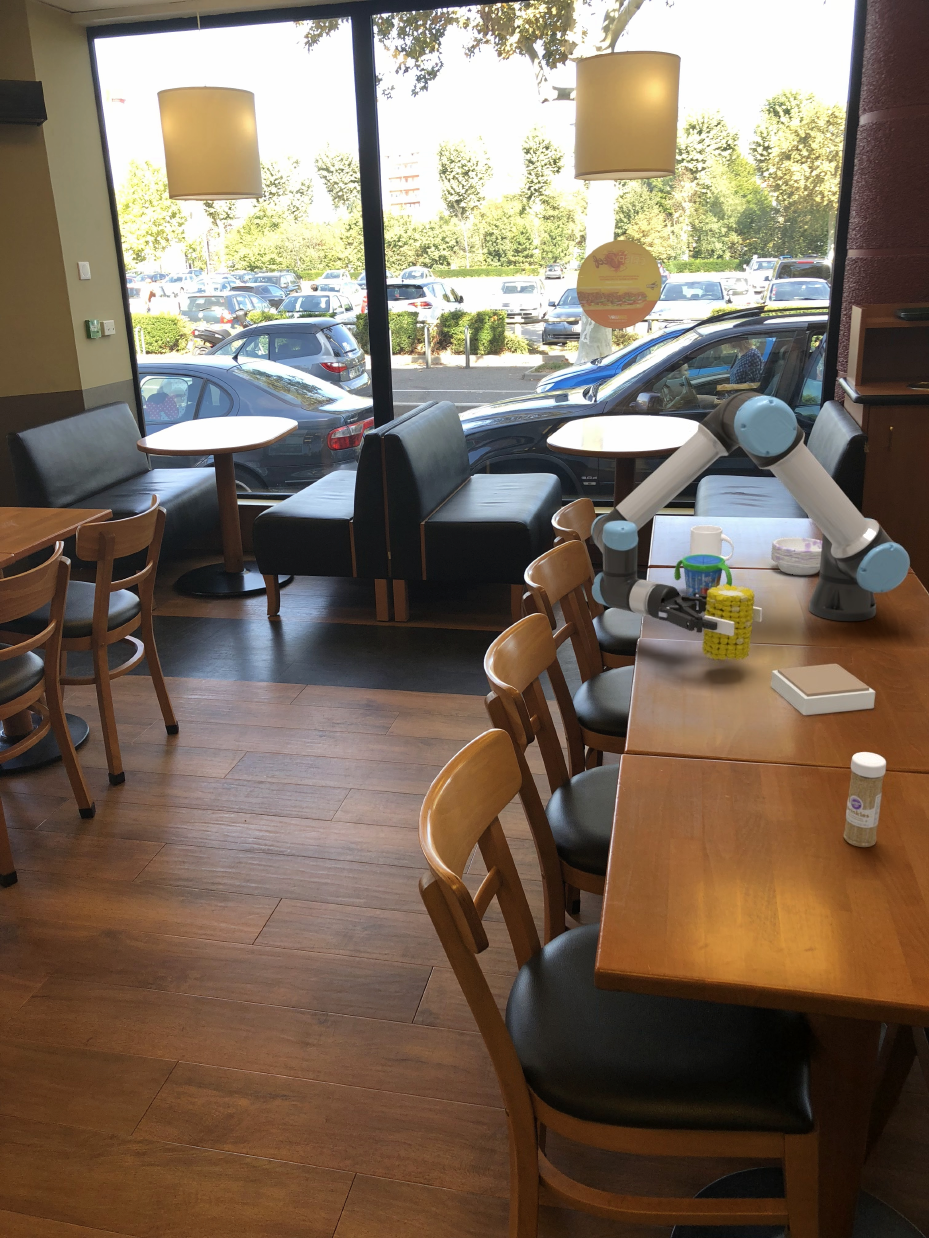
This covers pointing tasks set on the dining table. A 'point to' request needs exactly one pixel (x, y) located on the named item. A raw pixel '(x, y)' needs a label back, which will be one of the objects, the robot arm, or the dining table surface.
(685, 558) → the snack cup
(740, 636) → the food
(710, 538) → the mug
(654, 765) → the dining table surface
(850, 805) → the sprinkles bottle
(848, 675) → the plinth
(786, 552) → the paper bowls
